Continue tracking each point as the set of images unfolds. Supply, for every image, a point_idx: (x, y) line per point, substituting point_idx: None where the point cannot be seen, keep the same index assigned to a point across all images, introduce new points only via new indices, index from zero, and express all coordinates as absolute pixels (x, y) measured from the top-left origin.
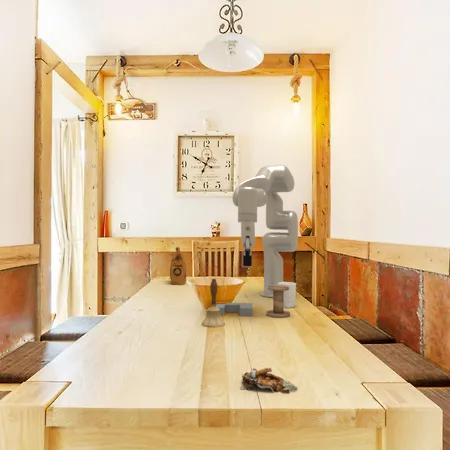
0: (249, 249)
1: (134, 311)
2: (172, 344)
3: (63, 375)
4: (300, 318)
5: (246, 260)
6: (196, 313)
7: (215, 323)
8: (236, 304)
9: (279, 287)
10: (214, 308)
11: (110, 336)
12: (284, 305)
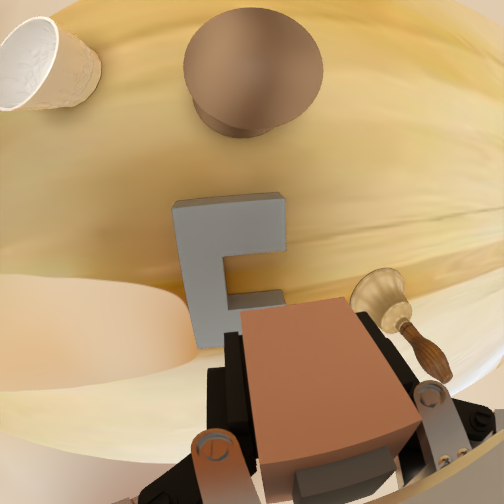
0: (493, 426)
1: None
2: (472, 318)
3: (498, 357)
4: None
5: None
6: None
7: (403, 290)
8: (213, 271)
9: (289, 60)
10: (409, 316)
11: None
12: (96, 79)
